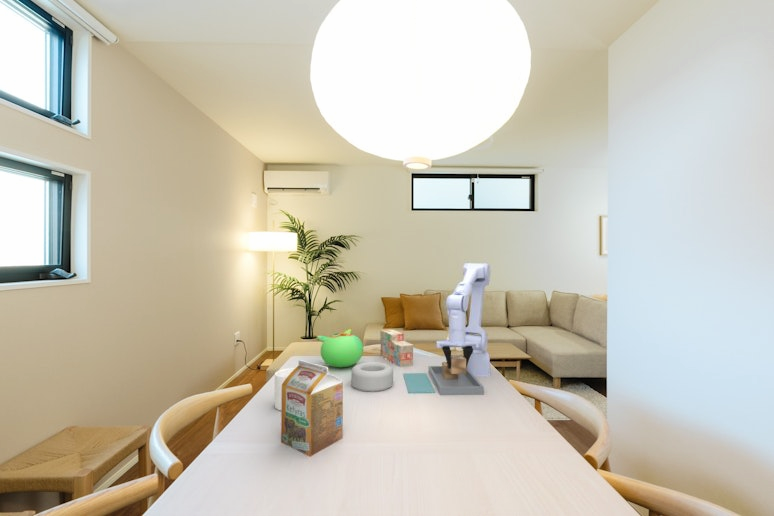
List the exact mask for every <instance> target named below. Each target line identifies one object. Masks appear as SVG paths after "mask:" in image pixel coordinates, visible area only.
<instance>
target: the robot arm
mask: <svg viewBox="0 0 774 516" xmlns="http://www.w3.org/2000/svg"><path fill="white" fill-rule="evenodd" d="M462 274H463V279H462V281H460V282H458V284H457V285H456V286H455V288H454V290H453V292H452V294H449V295H448V296H447V298H446V303H445V304H446V305H445V306H446V309H447V316H448V339H447V340H436V342H435V347H436V348H437V349H442V352H443V354H444V358H445V360H446V361H445V362H447V366H448V368H449V369H451V355H452V350H451V348H461V349H462V352H463V354H462V355H463V356H464V357H465V358H466V369H468V370H469V371H470V372H471V373H472V374H473V375H474V377H491V374H490V369H491V368H490V366H491V365H490V364H491V361H490V360H491V359H490V355H489V352H488V351H487V350H488V344H489V343H488V332H487V331H486V330H485V329H484V328H483V327H482V318H483V308H484V307H483V306H484V298H485V297H484V295H485V289H486V287H488V286H489V284H490V281H491V266H490V264H489V263H488V262H486V263H485V262H484V263H481V262H480V263H478V262H477V263H473V262H472V263H468V262H465V263H464V265H463V266H462ZM470 297H471V298H470ZM469 298H470V299H469ZM469 303H470V309H469V319H468V325H467V326H466V316H467V315H466V314H467V313H466V312H467V311H468V308H469Z"/></svg>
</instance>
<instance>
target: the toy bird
mask: <svg viewBox="0 0 774 516" xmlns="http://www.w3.org/2000/svg"><path fill="white" fill-rule="evenodd" d="M316 339H317V340H319V341H320V342H321V343H322V344H321V346H320V356H321V358H322V360H323V361H324V363H326V364H327V365H329V366H331V367H334V368H347V367H351V366H353V365H354V364H355V365H356V364H357V362H359V361H360V360H361V358H362V357H363V354H364V345H363V342H362V340H361V339H360V337H358V336H357V335H354V334H352V329H351V328H350V329H347V330H346V331H344V332H339V333H334V334H331V335H329V336H325V335H316Z"/></svg>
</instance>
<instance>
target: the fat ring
mask: <svg viewBox="0 0 774 516" xmlns="http://www.w3.org/2000/svg"><path fill="white" fill-rule="evenodd" d="M350 376H351V377H350V378H351V382H350V383H351V386H352V387H353V388H354V389H356V390H359V391H362V392H367V393H368V392H372V393H373V392H381V391H387V390H389V388H391V387H392V386H393V384H394V369H393V367H392V366H391V365H389V363H384V362H379V361H365V362H360V363H358V364H357V363H356V364H355V365H354V366H353V367H352V369H351V375H350Z"/></svg>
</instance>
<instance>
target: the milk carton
mask: <svg viewBox="0 0 774 516" xmlns="http://www.w3.org/2000/svg"><path fill="white" fill-rule="evenodd" d="M294 368H295V367H294ZM343 400H344V382H343V380H342V379H341V378H339V377H337V376H336V375H333V374H331V373H329V367H328V366H324V365H321V364H316V363H313V362H310V361H309V362H308V361H305V360H302V359H299V360H298V365H297V366H296V368H295V369H294V370H293V371H292V372H291V373H290V375H289V376H288V377H287V378H286V379H285V381H284V382H283V384H282V407H281V411H280V412H281V415H280V417H281V422H280V425H281V426H280V427H281V429H280V432H281V436H280V437H281V438H280V443H282V444H284V445H286V446H287V447H290V448H292V449H294V450H295V451H298V452H300V453H301V454H304V455H306V456H308V457H312V456H314V455H315V454H316V455H317V453H319V452H321V451H323V450H325V449H326V448H328V447H330V446H331V445H333V444H335V443H337V442H339V441H340V440H342V439H343V435H344V434H343V432H344V430H343V429H344V427H343V426H344V425H343V421H344V419H343V417H344V409H343V408H344V406H343V405H344V401H343Z"/></svg>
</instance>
